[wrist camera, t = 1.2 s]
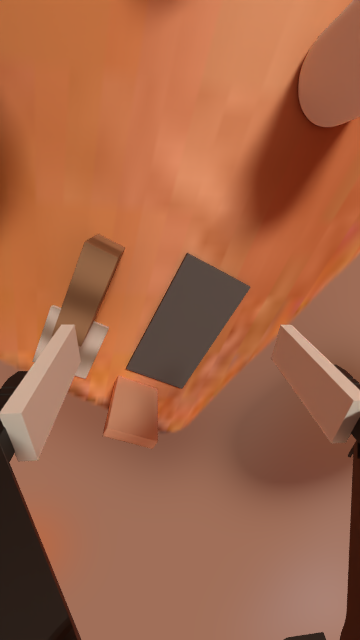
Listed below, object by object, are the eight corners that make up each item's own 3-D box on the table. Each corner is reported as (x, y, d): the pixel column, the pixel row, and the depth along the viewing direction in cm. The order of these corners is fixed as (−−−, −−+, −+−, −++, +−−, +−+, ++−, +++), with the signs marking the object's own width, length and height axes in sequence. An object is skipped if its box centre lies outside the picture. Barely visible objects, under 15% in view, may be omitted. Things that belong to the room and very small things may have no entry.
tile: (114, 383, 40) (102, 436, 31) (118, 375, 39) (107, 427, 30) (153, 395, 42) (152, 449, 33) (157, 388, 41) (157, 441, 32)
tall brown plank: (79, 224, 29) (61, 230, 23) (141, 255, 31) (138, 267, 25) (34, 359, 36) (13, 387, 31) (86, 376, 39) (75, 405, 33)
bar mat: (126, 366, 38) (126, 369, 38) (187, 252, 31) (187, 253, 30) (181, 386, 41) (182, 388, 41) (249, 285, 34) (250, 287, 33)
